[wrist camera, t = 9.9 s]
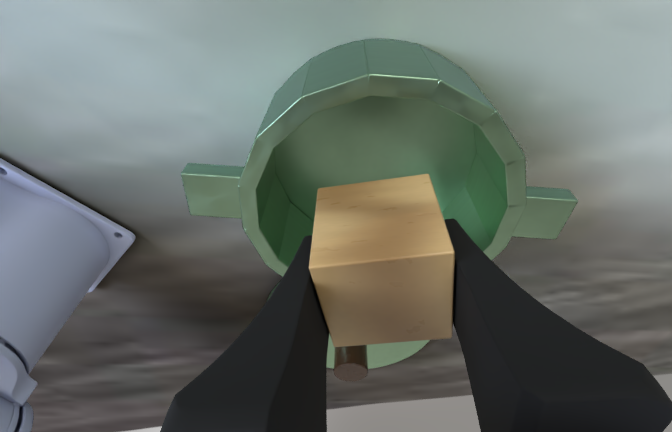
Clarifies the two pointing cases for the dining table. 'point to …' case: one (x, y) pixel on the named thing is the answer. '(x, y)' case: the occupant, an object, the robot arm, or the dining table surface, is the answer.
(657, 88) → the dining table surface
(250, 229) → the pot
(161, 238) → the dining table surface
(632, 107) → the dining table surface
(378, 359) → the lid
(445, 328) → the cube
